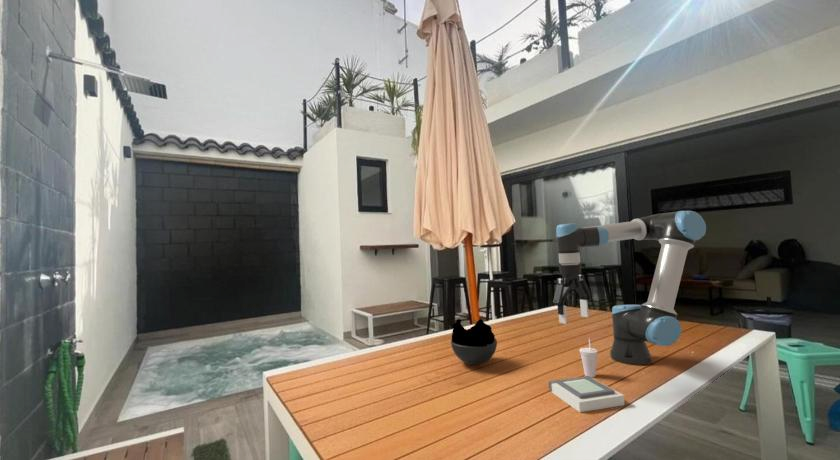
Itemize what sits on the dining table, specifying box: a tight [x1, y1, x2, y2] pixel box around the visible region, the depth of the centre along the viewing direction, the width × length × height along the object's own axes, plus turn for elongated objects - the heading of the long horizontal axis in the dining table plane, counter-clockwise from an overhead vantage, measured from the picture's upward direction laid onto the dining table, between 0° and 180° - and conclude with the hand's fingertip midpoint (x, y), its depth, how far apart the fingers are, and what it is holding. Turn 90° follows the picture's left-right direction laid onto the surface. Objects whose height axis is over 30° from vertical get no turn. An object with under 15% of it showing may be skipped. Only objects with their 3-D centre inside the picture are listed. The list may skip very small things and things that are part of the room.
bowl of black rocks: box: [450, 318, 498, 366], centre depth 148 cm, size 20×20×19 cm
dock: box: [548, 375, 625, 413], centre depth 112 cm, size 16×16×4 cm
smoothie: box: [579, 338, 599, 378], centre depth 130 cm, size 6×6×14 cm
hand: (574, 319), depth 128 cm, fingers open, 13 cm apart
